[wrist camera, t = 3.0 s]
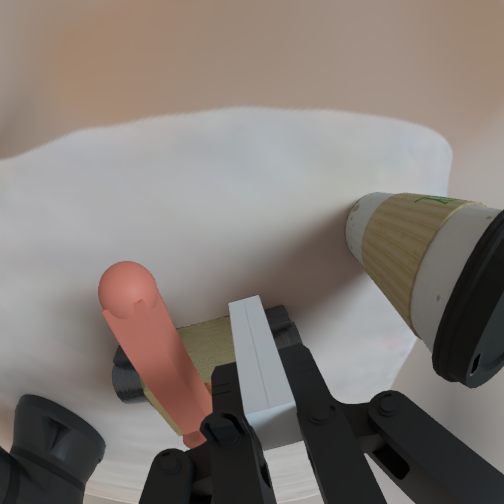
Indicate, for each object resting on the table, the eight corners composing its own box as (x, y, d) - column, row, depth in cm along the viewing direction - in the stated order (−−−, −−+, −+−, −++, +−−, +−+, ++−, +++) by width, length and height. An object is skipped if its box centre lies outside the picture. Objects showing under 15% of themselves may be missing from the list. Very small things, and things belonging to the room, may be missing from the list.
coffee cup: (424, 248, 23) (540, 323, 9) (345, 299, 23) (444, 424, 9) (401, 153, 19) (560, 184, 5) (305, 201, 20) (464, 300, 6)
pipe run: (143, 381, 24) (132, 439, 17) (116, 338, 22) (93, 397, 15) (294, 347, 25) (319, 404, 18) (284, 296, 23) (312, 353, 16)
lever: (234, 419, 17) (238, 449, 15) (194, 426, 17) (194, 456, 14) (154, 244, 12) (139, 268, 9) (97, 261, 12) (75, 287, 9)
